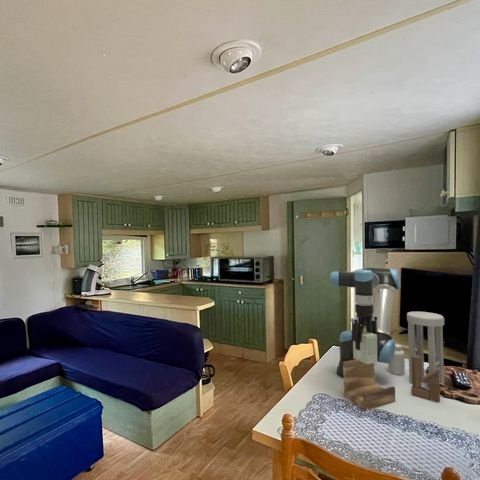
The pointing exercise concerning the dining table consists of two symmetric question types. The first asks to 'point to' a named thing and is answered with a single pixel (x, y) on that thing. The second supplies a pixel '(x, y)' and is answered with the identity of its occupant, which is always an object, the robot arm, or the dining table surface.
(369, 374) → the wooden display stand
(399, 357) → the pill bottle
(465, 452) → the dining table surface
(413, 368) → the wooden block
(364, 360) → the sage green upright block
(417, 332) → the stool
